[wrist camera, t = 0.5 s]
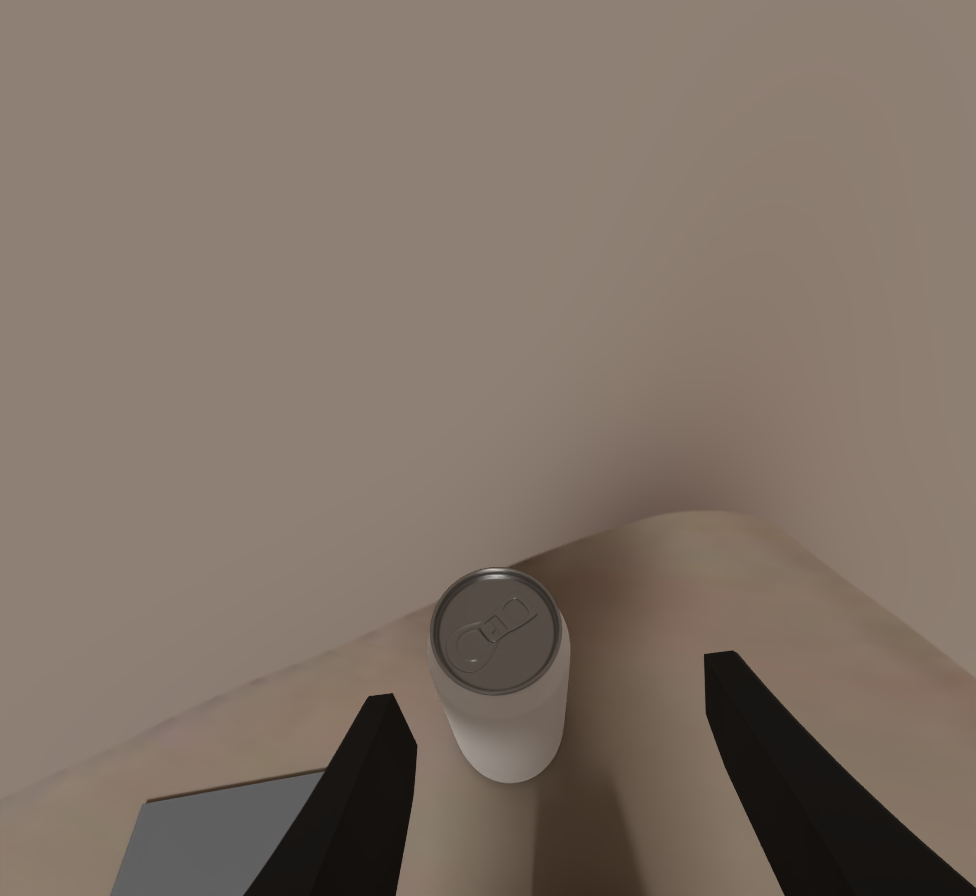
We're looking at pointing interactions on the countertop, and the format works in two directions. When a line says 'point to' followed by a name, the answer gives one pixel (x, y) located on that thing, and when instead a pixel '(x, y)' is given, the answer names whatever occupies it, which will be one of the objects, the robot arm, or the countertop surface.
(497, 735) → the can
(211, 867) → the slate mat
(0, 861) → the countertop surface
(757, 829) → the robot arm
